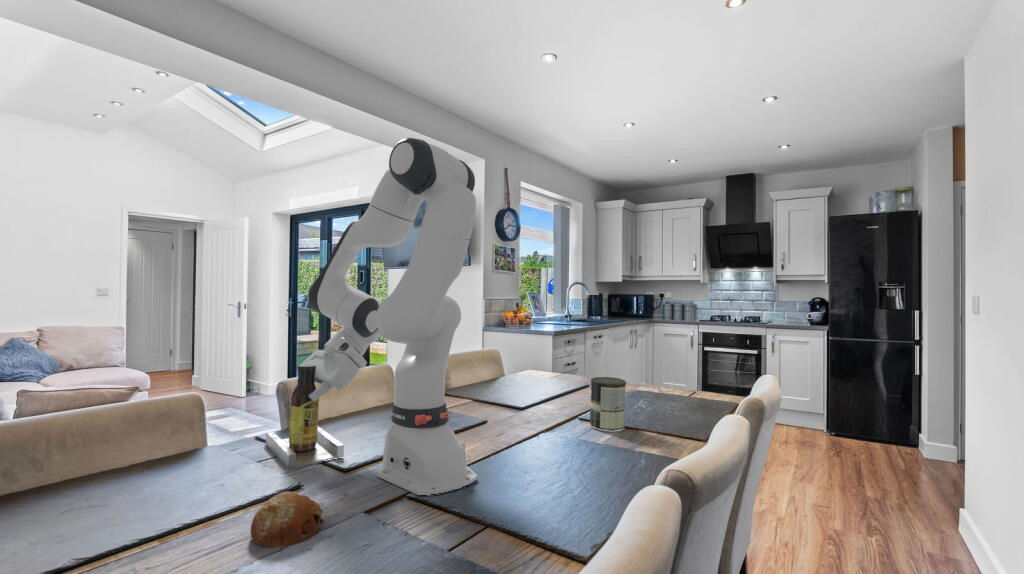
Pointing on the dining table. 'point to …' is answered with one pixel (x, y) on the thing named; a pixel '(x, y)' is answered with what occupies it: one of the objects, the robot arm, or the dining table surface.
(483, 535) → the dining table surface
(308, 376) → the sauce bottle
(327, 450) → the track
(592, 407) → the coffee can
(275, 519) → the bread roll
